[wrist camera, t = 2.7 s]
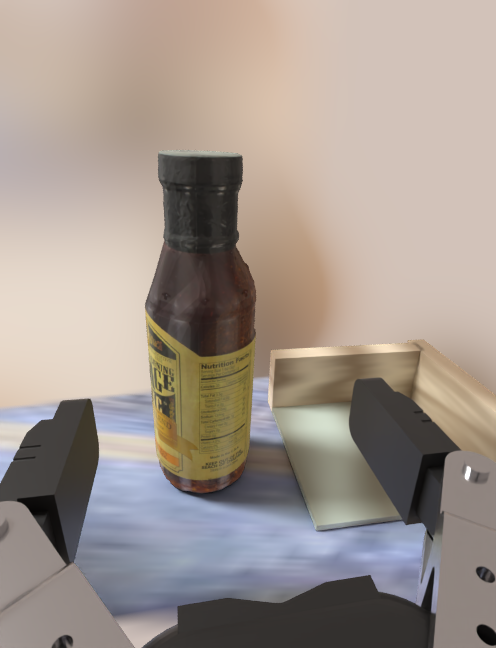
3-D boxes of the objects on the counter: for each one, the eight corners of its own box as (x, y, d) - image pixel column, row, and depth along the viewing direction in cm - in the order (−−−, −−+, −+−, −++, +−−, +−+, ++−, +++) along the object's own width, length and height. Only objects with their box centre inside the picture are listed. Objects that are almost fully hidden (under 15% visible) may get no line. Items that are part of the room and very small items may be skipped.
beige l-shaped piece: (315, 530, 23) (325, 463, 21) (266, 398, 35) (269, 347, 33) (527, 503, 25) (554, 439, 23) (412, 387, 37) (423, 339, 35)
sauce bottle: (158, 439, 30) (137, 148, 22) (241, 431, 31) (249, 151, 23) (156, 511, 24) (125, 149, 16) (258, 498, 25) (277, 153, 17)
